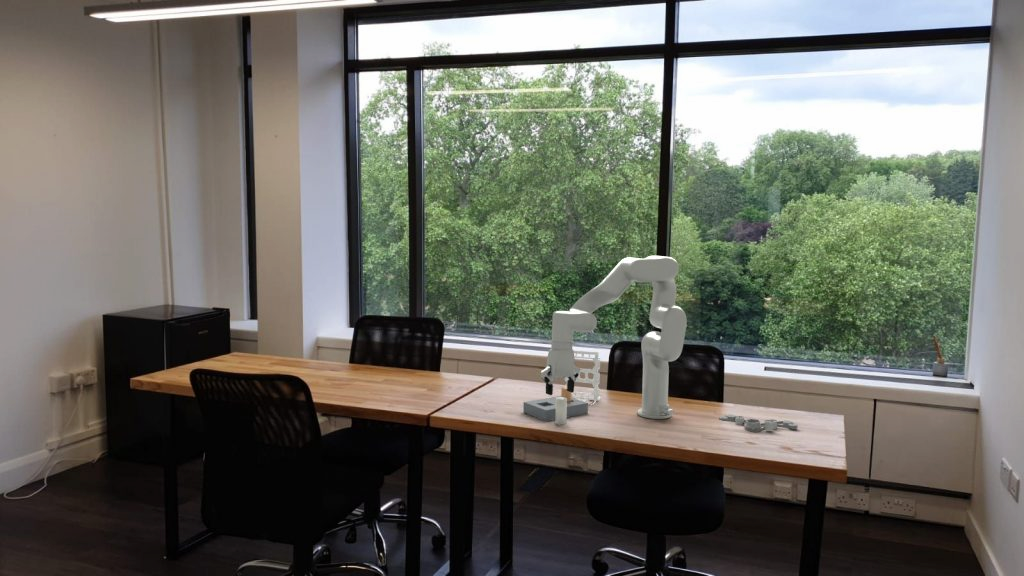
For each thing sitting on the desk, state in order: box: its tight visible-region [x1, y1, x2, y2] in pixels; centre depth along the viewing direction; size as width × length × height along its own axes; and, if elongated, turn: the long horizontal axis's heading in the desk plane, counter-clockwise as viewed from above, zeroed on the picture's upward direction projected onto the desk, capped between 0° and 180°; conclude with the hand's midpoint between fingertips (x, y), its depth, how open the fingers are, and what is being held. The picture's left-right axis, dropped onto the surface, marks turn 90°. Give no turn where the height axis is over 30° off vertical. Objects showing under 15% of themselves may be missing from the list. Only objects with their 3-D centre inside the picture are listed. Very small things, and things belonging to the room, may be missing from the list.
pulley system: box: [718, 414, 799, 433], centre depth 256 cm, size 27×5×15 cm
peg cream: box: [554, 396, 568, 426], centre depth 256 cm, size 4×4×9 cm
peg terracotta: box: [560, 386, 573, 403], centre depth 273 cm, size 4×4×9 cm
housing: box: [522, 395, 589, 422], centre depth 270 cm, size 14×20×4 cm
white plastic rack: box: [564, 350, 602, 406], centre depth 289 cm, size 14×14×20 cm
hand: (559, 393), depth 255 cm, fingers open, 9 cm apart
